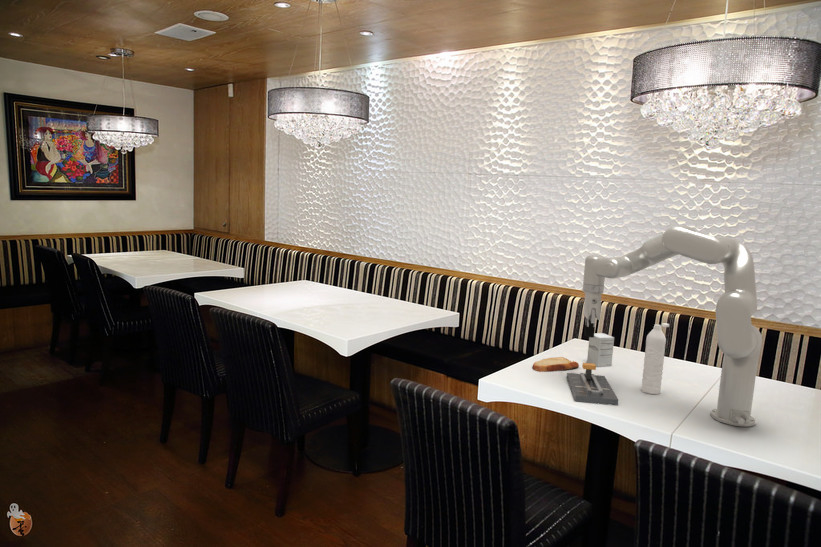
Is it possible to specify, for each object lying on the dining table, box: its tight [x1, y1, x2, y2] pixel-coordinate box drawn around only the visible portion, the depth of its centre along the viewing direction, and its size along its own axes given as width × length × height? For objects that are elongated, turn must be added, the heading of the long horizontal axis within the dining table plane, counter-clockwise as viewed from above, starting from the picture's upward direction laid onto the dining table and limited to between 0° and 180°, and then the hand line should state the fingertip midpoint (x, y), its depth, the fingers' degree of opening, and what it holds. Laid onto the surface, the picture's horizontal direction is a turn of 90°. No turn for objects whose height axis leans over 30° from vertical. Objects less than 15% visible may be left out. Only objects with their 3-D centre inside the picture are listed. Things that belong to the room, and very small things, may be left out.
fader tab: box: [581, 362, 597, 380], centre depth 210 cm, size 3×4×6 cm, turn 81°
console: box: [566, 372, 619, 406], centre depth 204 cm, size 26×14×3 cm, turn 171°
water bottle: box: [640, 322, 670, 395], centre depth 205 cm, size 9×6×25 cm
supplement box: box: [586, 332, 615, 368], centre depth 237 cm, size 7×7×13 cm
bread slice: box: [531, 356, 580, 373], centre depth 231 cm, size 18×18×4 cm
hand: (588, 335), depth 214 cm, fingers closed
